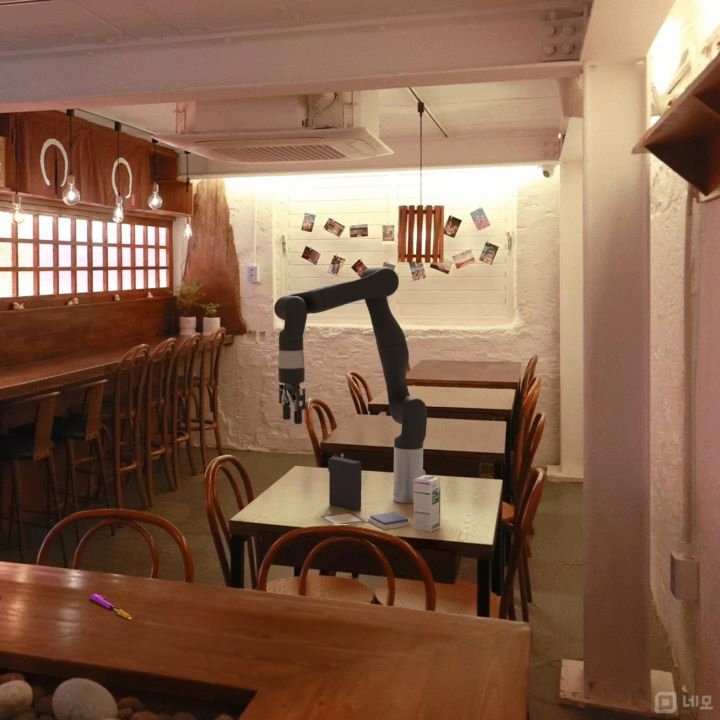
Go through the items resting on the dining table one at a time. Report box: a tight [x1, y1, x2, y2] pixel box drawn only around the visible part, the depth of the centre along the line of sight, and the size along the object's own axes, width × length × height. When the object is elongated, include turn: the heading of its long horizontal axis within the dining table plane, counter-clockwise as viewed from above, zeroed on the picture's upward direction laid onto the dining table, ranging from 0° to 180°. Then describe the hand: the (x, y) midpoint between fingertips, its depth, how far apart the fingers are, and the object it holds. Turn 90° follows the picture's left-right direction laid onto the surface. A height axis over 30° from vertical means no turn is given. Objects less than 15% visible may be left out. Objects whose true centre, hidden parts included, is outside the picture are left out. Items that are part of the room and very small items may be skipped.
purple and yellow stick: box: [90, 593, 133, 620], centre depth 165 cm, size 3×1×16 cm
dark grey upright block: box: [327, 456, 362, 513], centre depth 241 cm, size 11×4×15 cm, turn 47°
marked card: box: [318, 511, 368, 525], centre depth 229 cm, size 11×11×1 cm
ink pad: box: [367, 511, 412, 530], centre depth 226 cm, size 9×9×2 cm
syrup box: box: [413, 474, 441, 533], centre depth 221 cm, size 6×6×14 cm
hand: (292, 421), depth 227 cm, fingers open, 8 cm apart
